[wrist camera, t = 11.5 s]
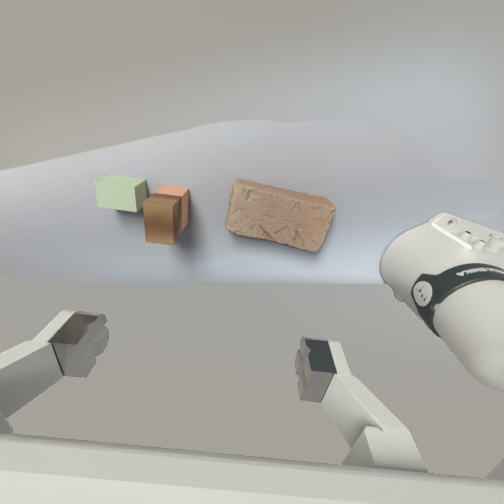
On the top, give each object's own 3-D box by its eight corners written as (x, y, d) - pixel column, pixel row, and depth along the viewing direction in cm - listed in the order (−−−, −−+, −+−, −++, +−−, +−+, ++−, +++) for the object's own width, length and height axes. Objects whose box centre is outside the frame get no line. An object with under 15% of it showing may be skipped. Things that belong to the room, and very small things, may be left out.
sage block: (146, 179, 42) (134, 186, 38) (147, 202, 44) (136, 212, 40) (109, 174, 42) (93, 181, 38) (112, 198, 44) (97, 207, 40)
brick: (225, 222, 45) (222, 233, 41) (234, 175, 41) (232, 183, 37) (314, 241, 47) (320, 254, 43) (331, 198, 43) (339, 207, 39)
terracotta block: (164, 185, 42) (154, 193, 38) (188, 188, 42) (181, 196, 38) (165, 218, 45) (156, 229, 41) (188, 221, 45) (181, 232, 41)
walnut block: (154, 192, 38) (142, 202, 34) (181, 196, 38) (172, 206, 34) (156, 229, 41) (146, 241, 37) (181, 232, 41) (173, 245, 37)
